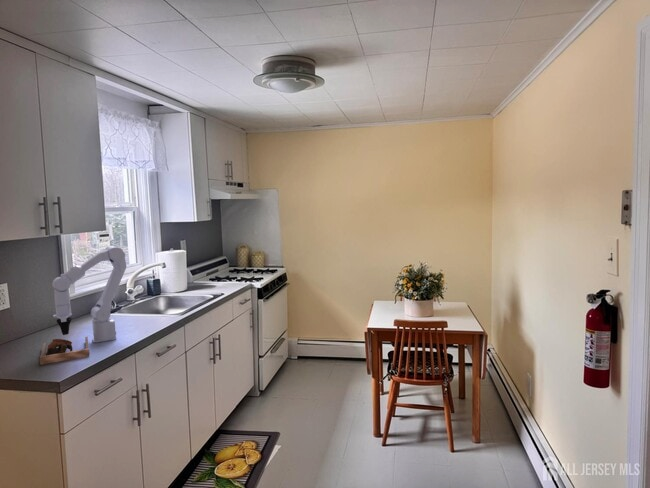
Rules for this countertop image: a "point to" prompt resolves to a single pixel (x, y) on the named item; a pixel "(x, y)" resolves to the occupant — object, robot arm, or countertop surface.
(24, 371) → the countertop surface
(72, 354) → the wooden bracket
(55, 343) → the brown jagged ring
